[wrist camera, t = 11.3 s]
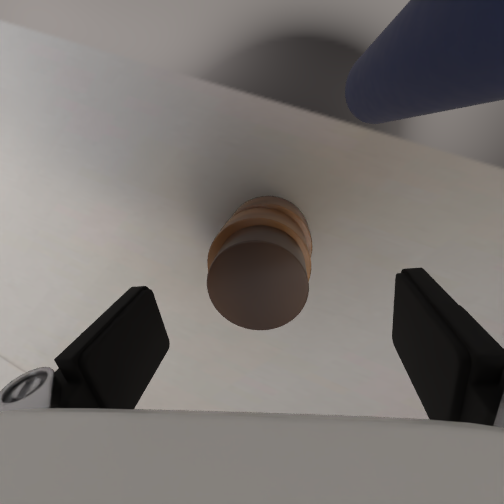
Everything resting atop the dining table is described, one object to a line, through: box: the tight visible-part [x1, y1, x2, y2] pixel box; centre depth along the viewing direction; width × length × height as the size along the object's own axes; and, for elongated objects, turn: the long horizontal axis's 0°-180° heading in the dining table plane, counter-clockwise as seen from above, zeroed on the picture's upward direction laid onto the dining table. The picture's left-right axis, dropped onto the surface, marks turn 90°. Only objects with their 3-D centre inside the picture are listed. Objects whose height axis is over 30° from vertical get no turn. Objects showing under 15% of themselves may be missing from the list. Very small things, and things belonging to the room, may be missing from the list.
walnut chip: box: [207, 225, 309, 330], centre depth 14 cm, size 5×5×2 cm
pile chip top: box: [207, 207, 311, 282], centre depth 17 cm, size 6×6×2 cm
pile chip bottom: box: [231, 196, 312, 258], centre depth 19 cm, size 6×6×2 cm
